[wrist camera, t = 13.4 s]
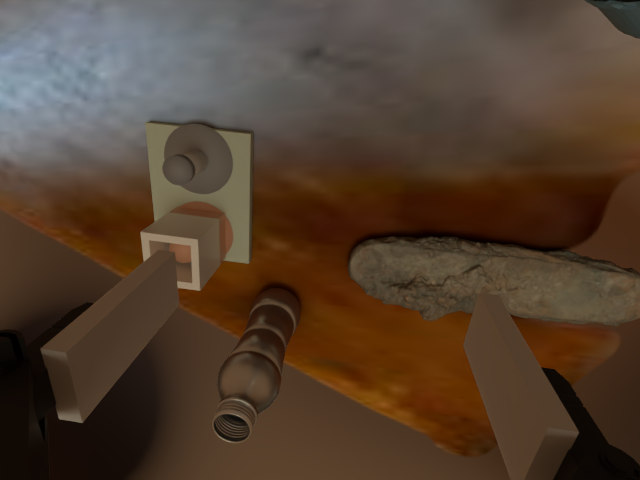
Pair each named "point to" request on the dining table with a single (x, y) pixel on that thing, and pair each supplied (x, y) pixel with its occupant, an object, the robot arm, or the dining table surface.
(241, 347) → the plastic bottle
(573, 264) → the elongated rock
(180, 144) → the board with round knobs
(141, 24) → the dining table surface
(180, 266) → the sleeve
